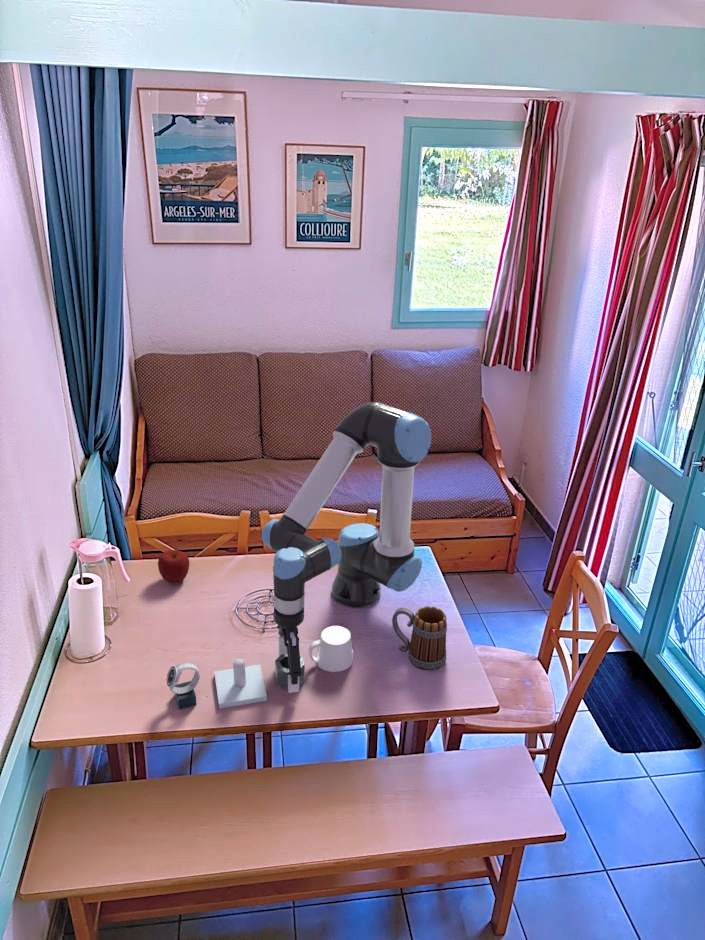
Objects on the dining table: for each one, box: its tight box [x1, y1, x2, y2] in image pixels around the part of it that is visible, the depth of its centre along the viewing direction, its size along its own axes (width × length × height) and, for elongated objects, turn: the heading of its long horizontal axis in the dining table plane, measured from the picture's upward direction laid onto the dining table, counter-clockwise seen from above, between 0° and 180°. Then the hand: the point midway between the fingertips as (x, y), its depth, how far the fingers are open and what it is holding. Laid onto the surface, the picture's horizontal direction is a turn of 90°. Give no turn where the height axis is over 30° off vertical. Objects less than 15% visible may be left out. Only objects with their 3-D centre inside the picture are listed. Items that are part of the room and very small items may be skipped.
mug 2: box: [391, 605, 448, 672], centre depth 197 cm, size 16×11×15 cm
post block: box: [213, 658, 268, 709], centre depth 186 cm, size 12×12×8 cm
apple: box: [157, 549, 190, 585], centre depth 227 cm, size 10×10×10 cm
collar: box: [274, 653, 306, 691], centre depth 190 cm, size 7×7×6 cm
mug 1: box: [308, 625, 354, 673], centre depth 195 cm, size 12×9×8 cm
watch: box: [166, 662, 201, 710], centre depth 181 cm, size 6×8×11 cm
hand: (288, 673), depth 190 cm, fingers open, 13 cm apart
